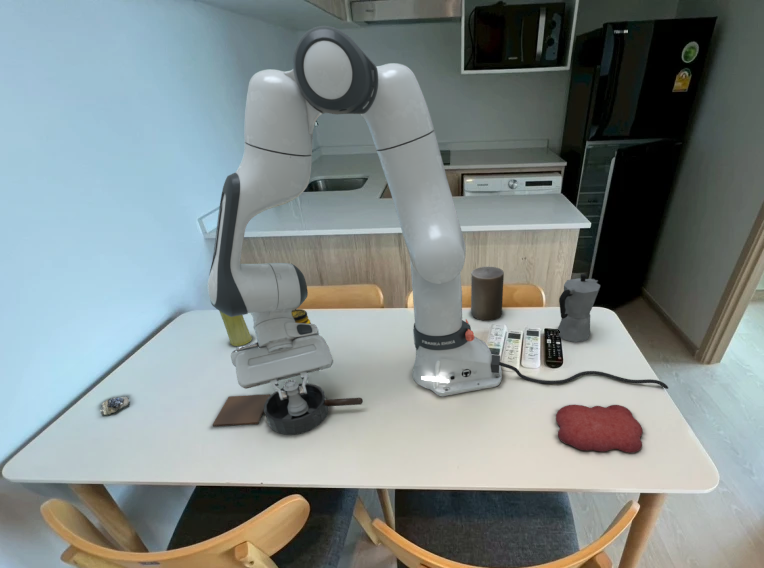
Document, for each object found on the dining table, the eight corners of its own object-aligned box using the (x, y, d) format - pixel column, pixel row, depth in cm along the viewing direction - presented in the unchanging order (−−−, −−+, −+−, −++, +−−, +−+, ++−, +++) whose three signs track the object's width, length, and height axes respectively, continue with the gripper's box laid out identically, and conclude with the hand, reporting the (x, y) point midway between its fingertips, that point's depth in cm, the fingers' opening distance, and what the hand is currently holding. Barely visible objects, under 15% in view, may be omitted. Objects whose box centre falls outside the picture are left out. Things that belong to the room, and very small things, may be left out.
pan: (332, 394, 99) (329, 381, 97) (322, 433, 89) (318, 419, 86) (277, 398, 99) (273, 384, 97) (261, 436, 88) (255, 423, 86)
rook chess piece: (299, 402, 96) (290, 374, 91) (313, 408, 94) (304, 380, 89) (284, 413, 93) (274, 385, 88) (298, 419, 91) (289, 391, 86)
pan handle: (363, 401, 93) (362, 395, 92) (363, 405, 92) (362, 400, 91) (324, 403, 93) (323, 398, 92) (323, 408, 92) (322, 402, 91)
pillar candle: (505, 319, 127) (508, 272, 118) (474, 322, 126) (475, 275, 117) (497, 305, 134) (499, 260, 126) (467, 308, 134) (468, 263, 125)
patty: (630, 408, 91) (632, 401, 90) (652, 454, 80) (655, 447, 79) (550, 406, 93) (551, 399, 92) (561, 452, 82) (562, 444, 81)
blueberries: (107, 419, 95) (103, 413, 94) (90, 408, 98) (86, 402, 97) (137, 403, 100) (133, 397, 98) (120, 393, 103) (116, 387, 102)
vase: (225, 345, 120) (208, 300, 112) (238, 334, 125) (222, 291, 117) (244, 347, 119) (227, 302, 110) (256, 336, 124) (241, 292, 115)
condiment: (322, 352, 115) (313, 314, 108) (292, 362, 111) (280, 323, 104) (313, 341, 120) (303, 304, 113) (284, 351, 116) (272, 313, 109)
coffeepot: (573, 320, 124) (583, 263, 114) (601, 332, 118) (614, 272, 108) (540, 338, 117) (547, 278, 106) (567, 352, 111) (578, 289, 100)
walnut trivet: (270, 396, 100) (270, 394, 100) (258, 424, 92) (257, 422, 91) (229, 398, 100) (228, 396, 99) (213, 426, 92) (212, 424, 91)
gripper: (224, 344, 86) (241, 408, 84) (323, 323, 92) (340, 382, 90) (232, 352, 92) (247, 411, 90) (323, 331, 98) (339, 387, 96)
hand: (294, 396), depth 90 cm, fingers closed on rook chess piece, 3 cm apart
